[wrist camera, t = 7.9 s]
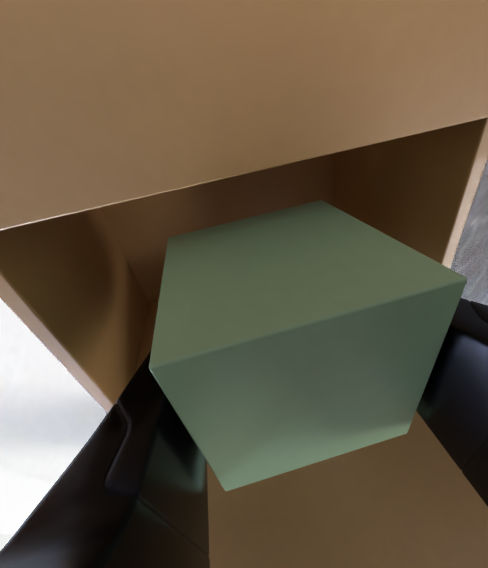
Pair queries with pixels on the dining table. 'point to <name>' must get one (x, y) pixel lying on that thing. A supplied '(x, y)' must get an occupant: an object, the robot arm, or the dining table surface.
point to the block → (296, 337)
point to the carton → (218, 143)
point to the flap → (354, 512)
